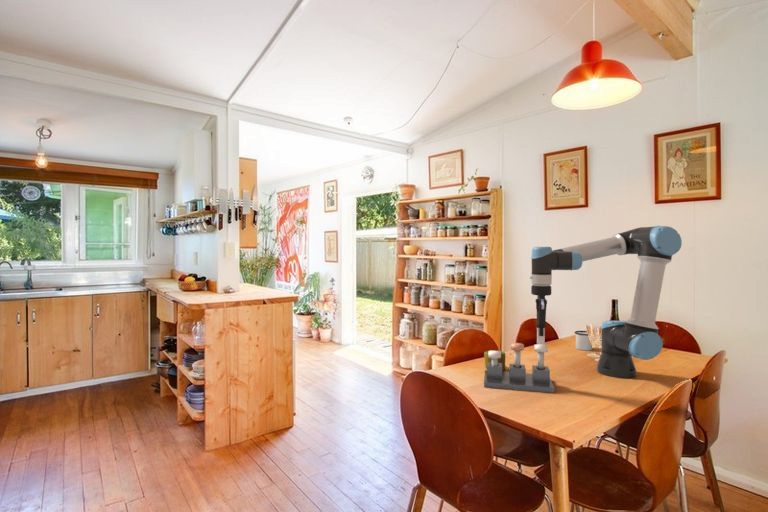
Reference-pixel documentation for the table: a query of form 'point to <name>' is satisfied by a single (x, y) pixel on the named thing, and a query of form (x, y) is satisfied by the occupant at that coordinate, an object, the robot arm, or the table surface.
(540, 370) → the mount
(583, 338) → the mug
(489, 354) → the knob far
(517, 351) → the pink capped peg
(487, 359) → the mug
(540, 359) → the knob near
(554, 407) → the table surface
